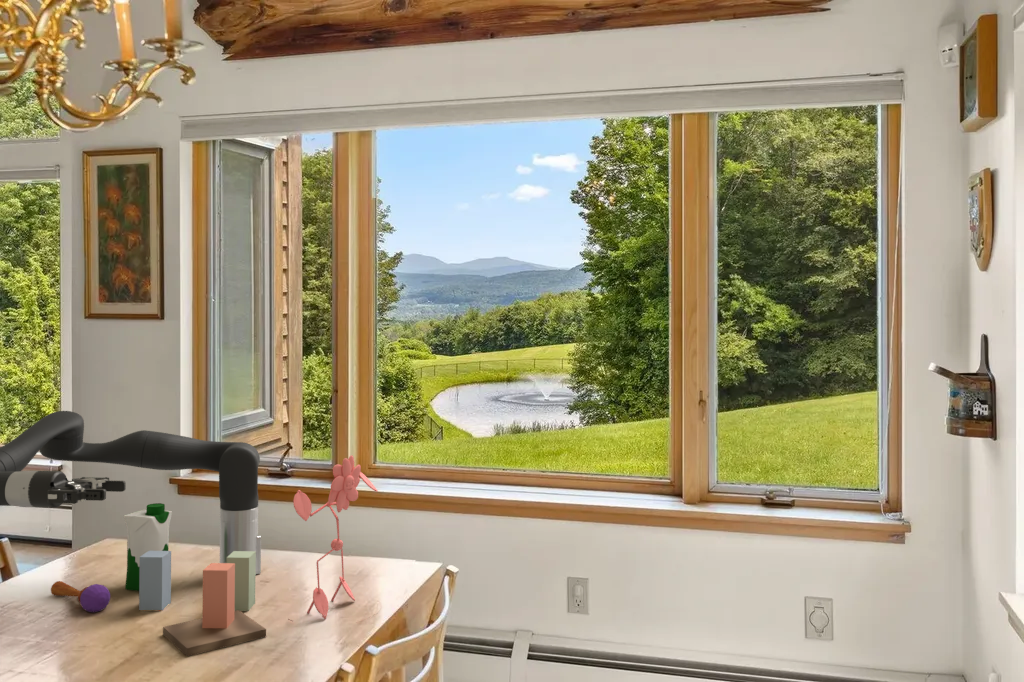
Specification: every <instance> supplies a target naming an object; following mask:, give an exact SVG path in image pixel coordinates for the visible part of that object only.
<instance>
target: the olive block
mask: <svg viewBox="0 0 1024 682" xmlns="http://www.w3.org/2000/svg"><path fill="white" fill-rule="evenodd" d="M227 563H235V611H237V610H239V611H241V612H249V611H250V610H251V609H252V608H253V607H254V606H255V604H256V575H257V574H256V551H233V552H232V553H231V554H230V555H229V556H228V557H227Z"/></svg>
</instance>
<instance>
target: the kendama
mask: <svg viewBox="0 0 1024 682" xmlns="http://www.w3.org/2000/svg"><path fill="white" fill-rule="evenodd" d="M50 593H51V594H52V595H53V596H55V595H56V596H57V597H77V600H78V603H79V605H80V606H81V607H82V609H83V610H85V611H86V612H89V613H97V612H101V611H102V610H104V609H105V608H106V607H108V605H109V604H110V600H111V592H110V591H109V588H108V587H107V586H105V585H104V584H98V583H95V584H91V585H89V586H87V587H84V588H82V590H79V589H77V588H75V587H73V586H71V585H70V584H68V583H65V582H64V581H61V580H58V581H55V582H53V584H52V585H51V587H50Z"/></svg>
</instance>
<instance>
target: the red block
mask: <svg viewBox="0 0 1024 682" xmlns="http://www.w3.org/2000/svg"><path fill="white" fill-rule="evenodd" d="M201 611H202V615H201V616H202V617H201V618H202V628H228V626H229V625H230V624H231V623H232V622H233V621H234V611H235V563H220V562H211V563H209V565H207V566H206V567H205V568H203V570H202V610H201Z"/></svg>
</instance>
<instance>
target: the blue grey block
mask: <svg viewBox="0 0 1024 682" xmlns="http://www.w3.org/2000/svg"><path fill="white" fill-rule="evenodd" d="M138 593H139V594H138V597H139V598H138V599H139V600H138V601H139V602H138V603H139V604H138V611H139V610H162V611H164V610H165V609H166V608H167V607H168V606H169V605H170V604H171V603H172V550H168V551H148V552H146V553H145V554H143V555H142V556H140V574H139V591H138ZM168 604H169V605H168ZM167 605H168V606H167ZM166 606H167V607H166ZM165 607H166V608H165ZM164 608H165V609H164Z"/></svg>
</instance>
